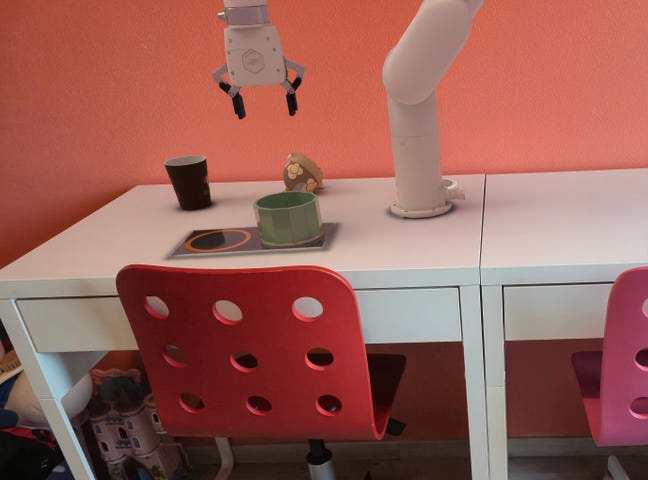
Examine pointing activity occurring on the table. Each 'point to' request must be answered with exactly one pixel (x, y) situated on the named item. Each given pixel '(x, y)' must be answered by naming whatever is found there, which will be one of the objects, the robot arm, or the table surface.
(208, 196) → the coffee mug
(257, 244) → the hob
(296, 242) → the saucepan
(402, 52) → the robot arm
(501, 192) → the table surface
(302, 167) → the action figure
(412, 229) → the table surface
